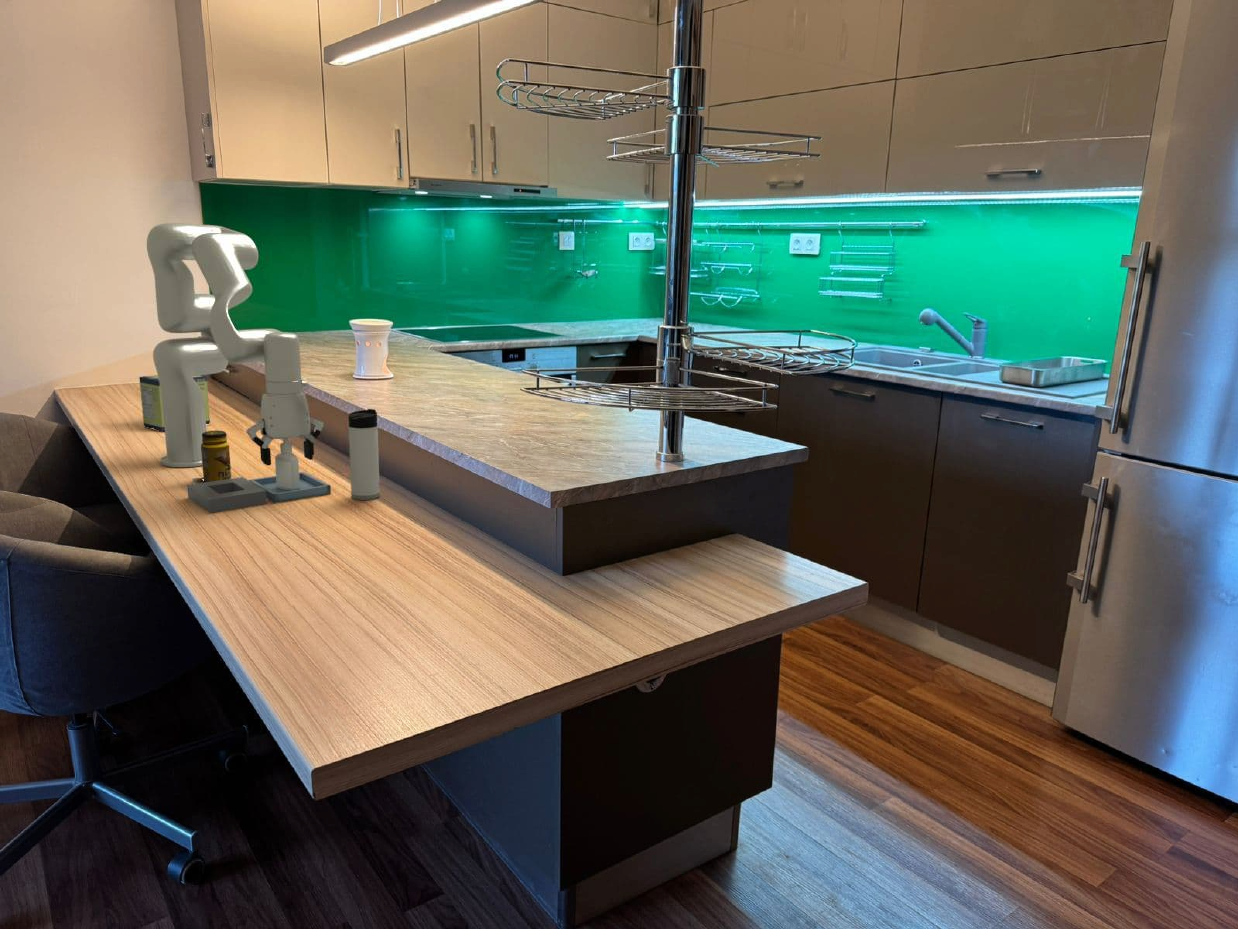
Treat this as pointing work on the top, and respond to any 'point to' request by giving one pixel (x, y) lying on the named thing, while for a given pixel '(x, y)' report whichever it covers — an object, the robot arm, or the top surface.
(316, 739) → the top surface
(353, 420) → the travel mug
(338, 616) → the top surface
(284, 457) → the eye dropper bottle
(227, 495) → the bottle holder
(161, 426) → the protein box
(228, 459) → the condiment
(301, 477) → the parts tray
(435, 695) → the top surface
